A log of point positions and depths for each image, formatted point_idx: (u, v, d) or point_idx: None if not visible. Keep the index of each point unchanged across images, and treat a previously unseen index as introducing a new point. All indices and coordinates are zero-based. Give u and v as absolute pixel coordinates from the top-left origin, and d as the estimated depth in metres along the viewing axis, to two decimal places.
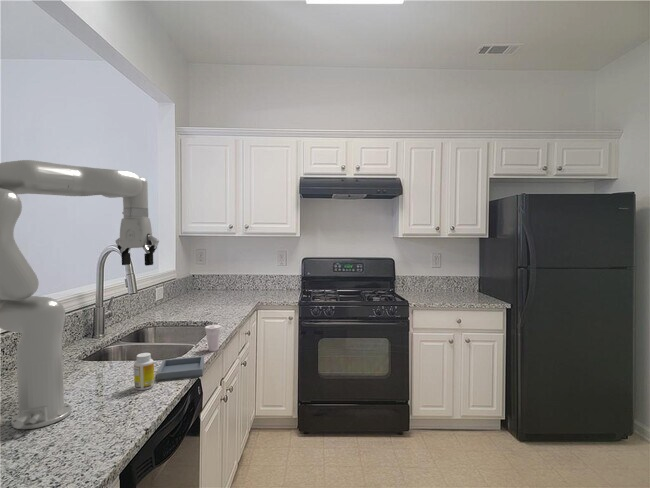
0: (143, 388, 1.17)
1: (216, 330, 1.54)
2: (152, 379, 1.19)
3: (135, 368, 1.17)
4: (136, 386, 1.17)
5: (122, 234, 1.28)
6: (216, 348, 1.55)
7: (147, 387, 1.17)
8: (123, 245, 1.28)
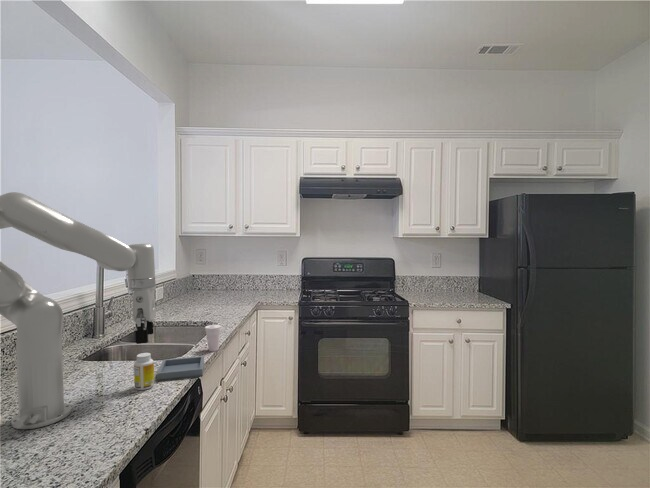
0: (143, 388, 1.17)
1: (216, 330, 1.54)
2: (152, 379, 1.19)
3: (135, 368, 1.17)
4: (136, 386, 1.17)
5: (150, 307, 1.16)
6: (216, 348, 1.55)
7: (147, 387, 1.17)
8: (152, 318, 1.17)
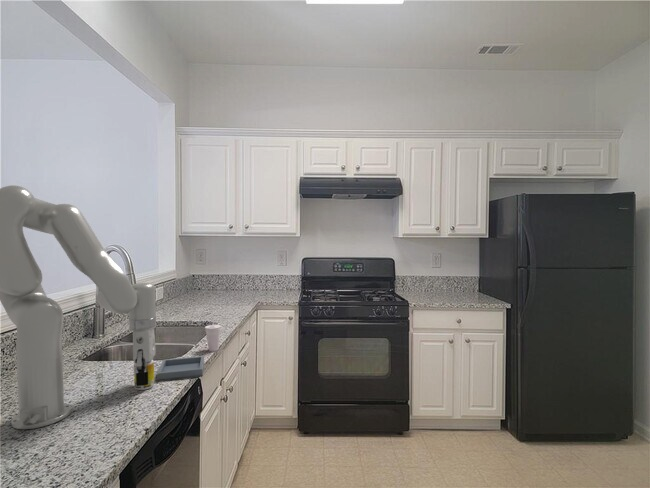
0: (143, 388, 1.17)
1: (216, 330, 1.54)
2: (152, 379, 1.19)
3: (135, 368, 1.17)
4: (136, 386, 1.17)
5: (150, 347, 1.16)
6: (216, 348, 1.55)
7: (147, 387, 1.17)
8: (151, 358, 1.17)
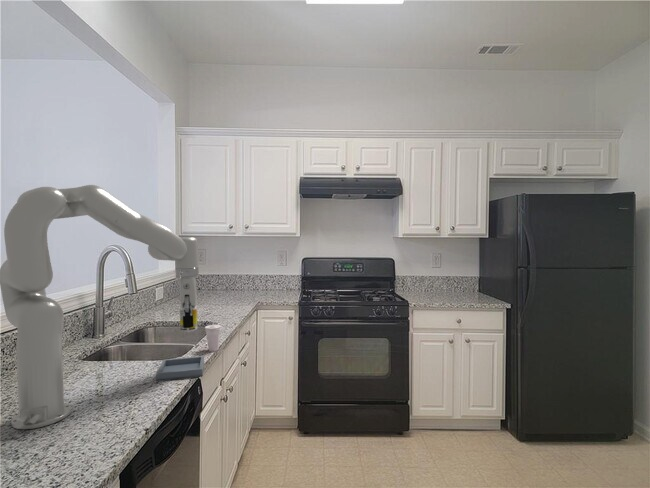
0: (188, 330, 1.30)
1: (216, 330, 1.54)
2: (196, 323, 1.33)
3: (181, 312, 1.31)
4: (182, 328, 1.31)
5: (195, 293, 1.30)
6: (216, 348, 1.55)
7: (192, 329, 1.31)
8: (196, 304, 1.31)
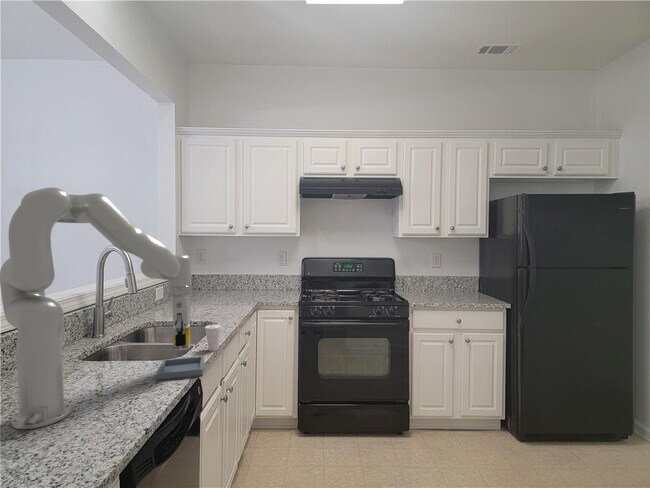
0: (181, 348, 1.30)
1: (216, 330, 1.54)
2: (189, 341, 1.32)
3: (174, 330, 1.30)
4: (175, 347, 1.30)
5: (188, 312, 1.29)
6: (216, 348, 1.55)
7: (185, 347, 1.30)
8: (189, 322, 1.30)
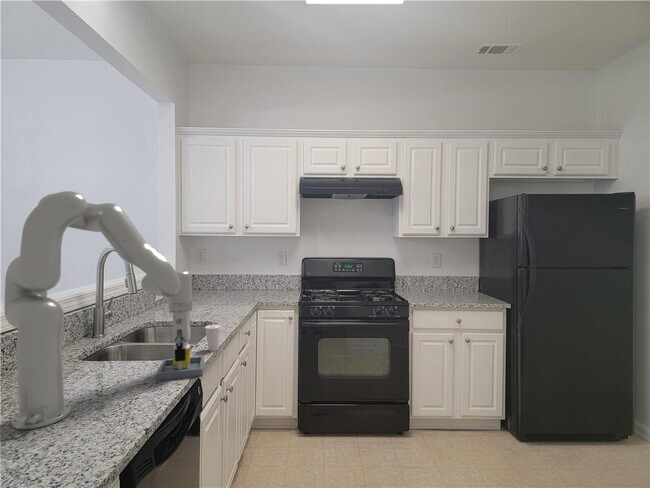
0: (181, 369, 1.30)
1: (216, 330, 1.54)
2: (189, 362, 1.32)
3: (174, 352, 1.30)
4: (175, 368, 1.30)
5: (188, 328, 1.30)
6: (216, 348, 1.55)
7: (185, 369, 1.30)
8: (189, 338, 1.30)
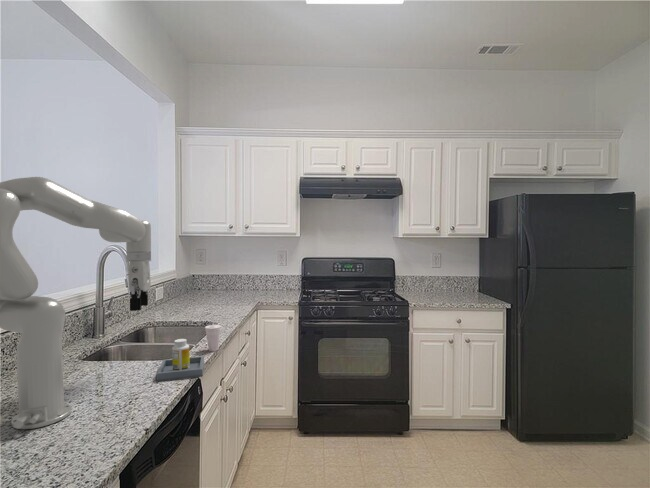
0: (181, 369, 1.30)
1: (216, 330, 1.54)
2: (188, 362, 1.32)
3: (174, 352, 1.30)
4: (175, 368, 1.30)
5: (145, 278, 1.27)
6: (216, 348, 1.55)
7: (185, 369, 1.31)
8: (145, 288, 1.28)
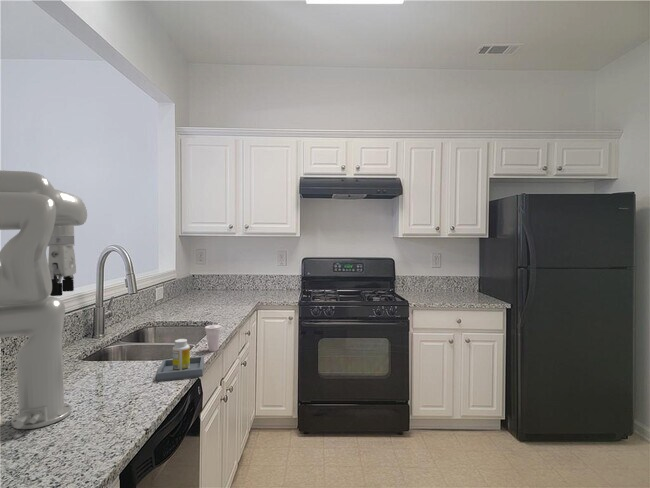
0: None
1: (216, 330, 1.54)
2: (189, 362, 1.32)
3: (174, 352, 1.30)
4: (175, 368, 1.30)
5: (66, 262, 1.24)
6: (216, 348, 1.55)
7: (185, 369, 1.31)
8: (68, 273, 1.25)
